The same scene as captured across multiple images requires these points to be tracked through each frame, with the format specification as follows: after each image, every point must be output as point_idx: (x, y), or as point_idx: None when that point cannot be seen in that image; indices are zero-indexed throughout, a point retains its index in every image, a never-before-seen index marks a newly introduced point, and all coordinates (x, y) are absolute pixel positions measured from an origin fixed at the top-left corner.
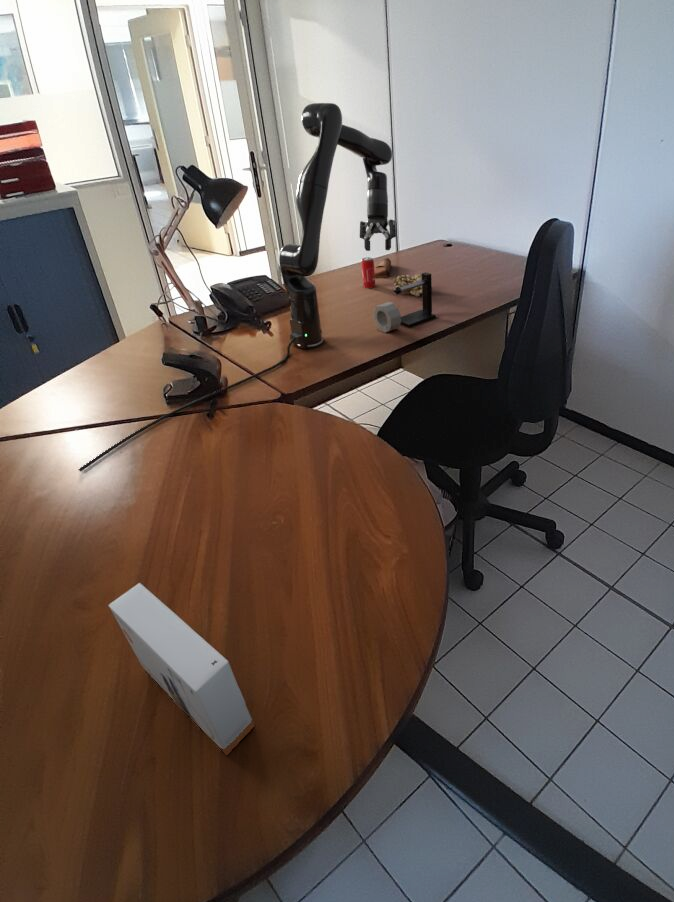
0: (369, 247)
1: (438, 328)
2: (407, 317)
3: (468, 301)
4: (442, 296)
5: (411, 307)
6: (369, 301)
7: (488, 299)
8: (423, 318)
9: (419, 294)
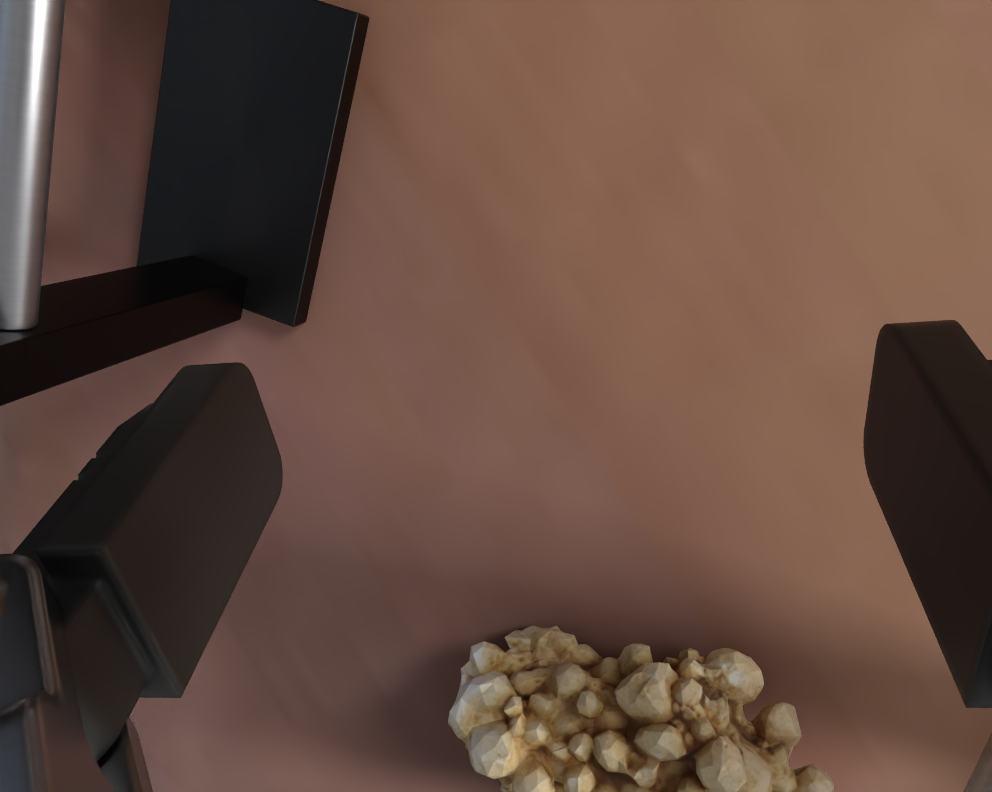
0: (891, 483)
1: None
2: (283, 104)
3: None
4: (366, 694)
5: (443, 396)
6: None
7: None
8: (164, 152)
9: (507, 641)
